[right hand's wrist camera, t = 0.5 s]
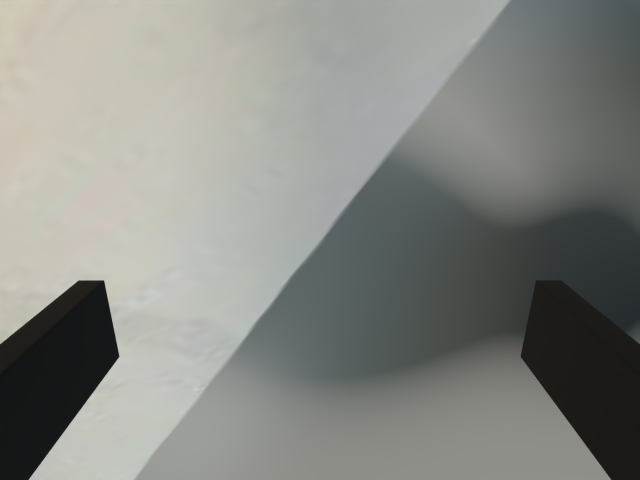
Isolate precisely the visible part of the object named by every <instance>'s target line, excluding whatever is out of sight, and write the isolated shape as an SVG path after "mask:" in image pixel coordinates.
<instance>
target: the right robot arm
mask: <svg viewBox="0 0 640 480" xmlns="http://www.w3.org/2000/svg"><path fill="white" fill-rule="evenodd" d="M118 358H119V352H118V348H117V343H116V338H115V333H114V328H113V323H112V318H111V313H110V308H109V303H108V298H107V293H106V288H105V283H104V281H78V282H76V283H75V284H74V285H73V286H72V287H70V288H69V289H68V290H67V291H65V292H64V293H63V294H62V295H60V296H59V297H58V298H57V299H56V300H54V301H53V302H52V303H51V304H49V305H48V306H47V307H46V308H44V309H43V310H42V311H41V312H39V313H38V314H37V315H36V316H35V317H33V318H32V319H31V320H30V321H28V322H27V323H26V324H25V325H23V326H22V327H21V328H20V329H19V330H17V331H16V332H15V333H14V334H12V335H11V336H10V337H9V338H7V339H6V340H5V341H4V342H3V343H1V344H0V480H29V478H30V477H31V476H32V474H33V473H34V472H35V470H36V469H37V468H38V466H39V465H40V464H41V462H42V461H43V459H44V458H45V457H46V455H47V454H48V453H49V451H50V450H51V449H52V447H53V446H54V445H55V443H56V442H57V440H58V439H59V438H60V436H61V435H62V434H63V432H64V431H65V430H66V428H67V427H68V426H69V424H70V423H71V422H72V420H73V419H74V417H75V416H76V415H77V413H78V412H79V411H80V409H81V408H82V407H83V405H84V404H85V403H86V401H87V400H88V398H89V397H90V396H91V394H92V393H93V392H94V390H95V389H96V388H97V386H98V385H99V384H100V382H101V381H102V379H103V378H104V377H105V375H106V374H107V373H108V371H109V370H110V369H111V367H112V366H113V365H114V363H115V362H116V361H117V359H118ZM521 358H522V359H523V361H524V362H525V363H526V364H527V366H528V367H529V369H530V370H531V371H532V373H533V374H534V375H535V377H536V378H537V379H538V381H539V382H540V384H541V385H542V386H543V388H544V389H545V390H546V392H547V393H548V394H549V396H550V397H551V398H552V400H553V401H554V403H555V404H556V405H557V406H558V408H559V409H560V411H561V412H562V413H563V415H564V416H565V417H566V419H567V420H568V422H569V423H570V424H571V426H572V427H573V428H574V430H575V431H576V432H577V434H578V435H579V436H580V438H581V439H582V440H583V442H584V443H585V444H586V446H587V447H588V449H589V450H590V451H591V453H592V454H593V455H594V457H595V458H596V459H597V461H598V462H599V464H600V465H601V466H602V468H603V469H604V470H605V472H606V473H607V474H608V476H609V477H610V478H611V480H640V344H639V343H637V342H636V341H635V340H634V339H633V338H631V337H630V336H629V335H628V334H626V333H625V332H624V331H623V330H621V329H620V328H619V327H618V326H617V325H615V324H614V323H613V322H612V321H610V320H609V319H608V318H607V317H605V316H604V315H603V314H602V313H601V312H599V311H598V310H597V309H596V308H594V307H593V306H592V305H591V304H589V303H588V302H587V301H586V300H584V299H583V298H582V297H581V296H580V295H578V294H577V293H576V292H575V291H573V290H572V289H571V288H570V287H568V286H567V285H566V284H565V283H564V282H562V281H536V283H535V288H534V293H533V298H532V303H531V308H530V313H529V318H528V323H527V328H526V333H525V338H524V343H523V348H522V352H521Z"/></svg>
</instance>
